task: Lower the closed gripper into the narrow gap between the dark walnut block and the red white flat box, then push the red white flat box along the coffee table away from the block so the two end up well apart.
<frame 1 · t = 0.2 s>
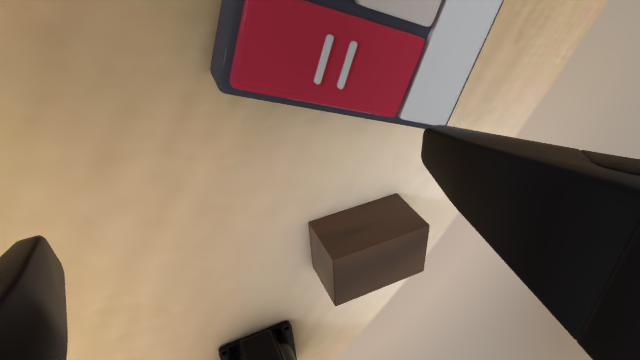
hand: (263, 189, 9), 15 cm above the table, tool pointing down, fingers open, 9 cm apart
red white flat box: (350, 6, 23), on the table
walnut block: (354, 230, 33), on the table
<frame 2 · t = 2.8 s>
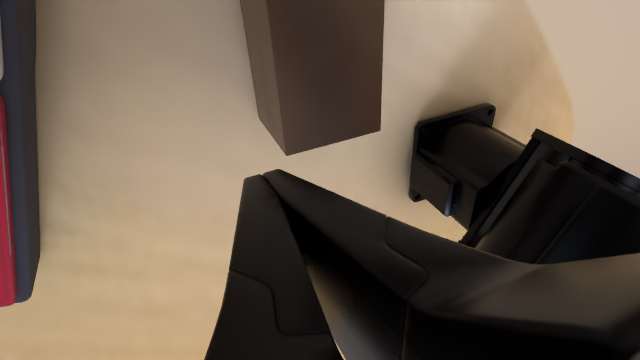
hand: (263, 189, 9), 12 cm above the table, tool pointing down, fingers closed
walnut block: (294, 36, 20), on the table
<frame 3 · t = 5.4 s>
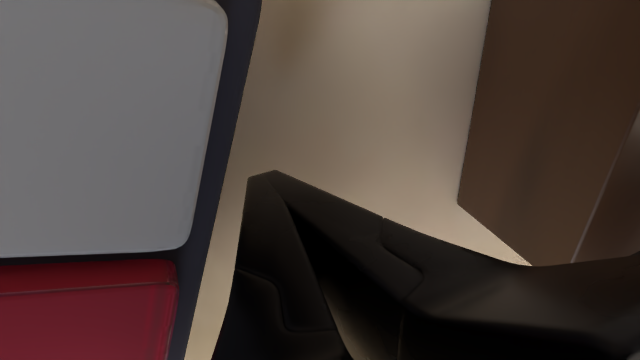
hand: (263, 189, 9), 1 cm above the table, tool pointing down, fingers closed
walnut block: (532, 88, 13), on the table
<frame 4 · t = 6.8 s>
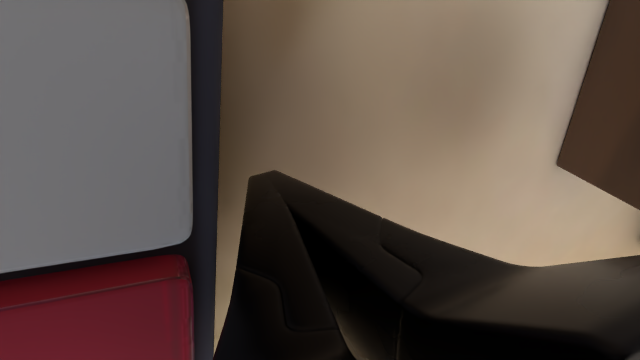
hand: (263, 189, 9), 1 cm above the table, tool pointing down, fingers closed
walnut block: (632, 58, 15), on the table
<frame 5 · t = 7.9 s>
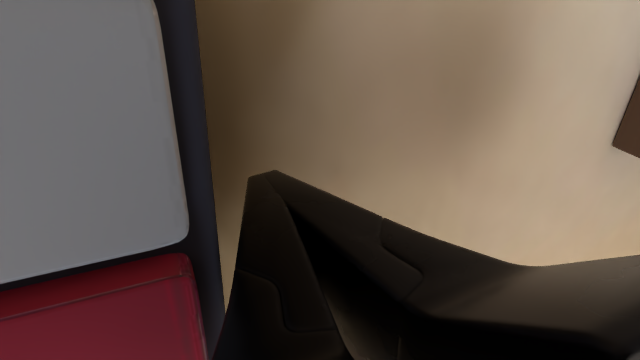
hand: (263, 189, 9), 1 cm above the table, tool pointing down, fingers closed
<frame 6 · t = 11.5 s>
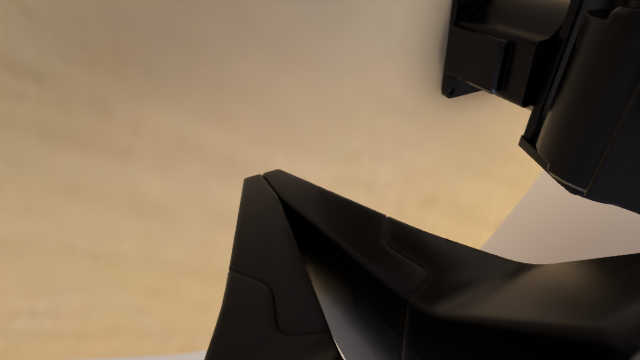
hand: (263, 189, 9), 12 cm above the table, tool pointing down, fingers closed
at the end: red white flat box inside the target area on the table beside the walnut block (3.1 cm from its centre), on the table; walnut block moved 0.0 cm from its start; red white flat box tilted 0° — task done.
